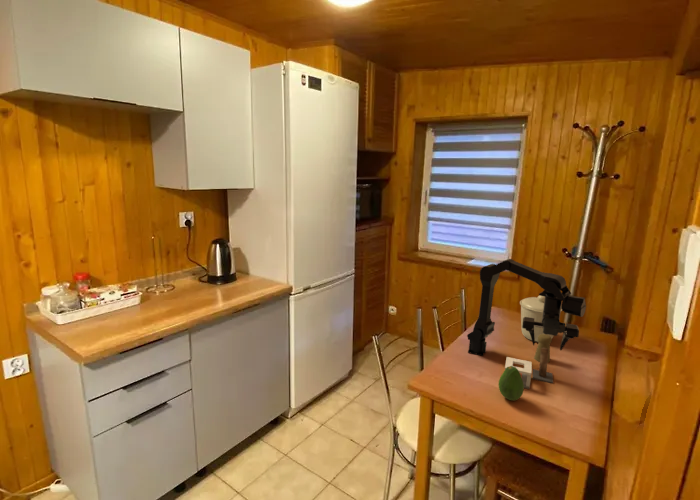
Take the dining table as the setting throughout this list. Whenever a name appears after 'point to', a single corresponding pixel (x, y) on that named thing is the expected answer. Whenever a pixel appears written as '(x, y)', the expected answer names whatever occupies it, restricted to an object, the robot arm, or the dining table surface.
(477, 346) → the robot arm
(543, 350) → the cylinder
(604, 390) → the dining table surface
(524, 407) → the dining table surface
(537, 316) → the canister
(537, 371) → the pad
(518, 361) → the guard
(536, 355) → the cork
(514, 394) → the fruit
